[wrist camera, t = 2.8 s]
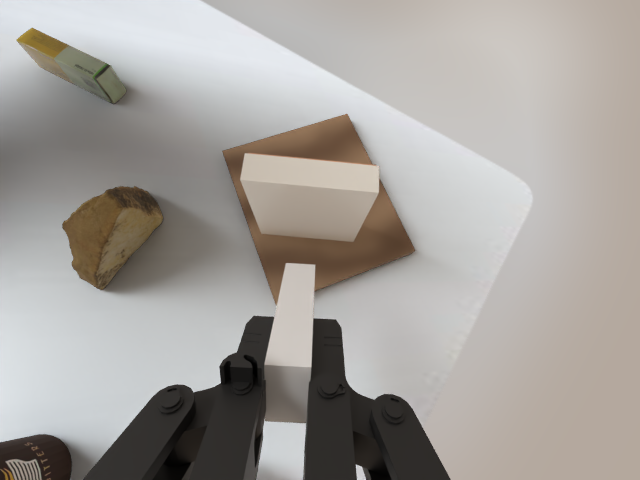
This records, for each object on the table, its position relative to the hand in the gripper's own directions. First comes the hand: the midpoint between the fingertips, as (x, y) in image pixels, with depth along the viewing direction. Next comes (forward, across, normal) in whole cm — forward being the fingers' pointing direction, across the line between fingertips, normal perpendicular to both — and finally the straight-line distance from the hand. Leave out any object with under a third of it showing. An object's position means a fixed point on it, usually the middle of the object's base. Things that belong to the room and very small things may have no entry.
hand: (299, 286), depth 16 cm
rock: (+17, -20, -7) cm, 27 cm away
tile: (+18, 0, -4) cm, 18 cm away
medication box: (+32, -30, +9) cm, 45 cm away
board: (+21, 0, -2) cm, 21 cm away
